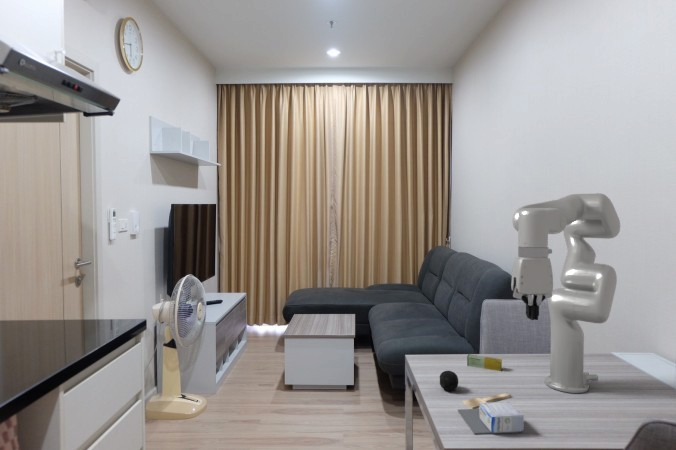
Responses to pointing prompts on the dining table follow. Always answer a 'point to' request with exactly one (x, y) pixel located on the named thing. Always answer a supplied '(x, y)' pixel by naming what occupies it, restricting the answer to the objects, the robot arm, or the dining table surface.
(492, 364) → the medication box
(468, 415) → the mat
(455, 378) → the billiard ball
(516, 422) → the medicine box
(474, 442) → the dining table surface
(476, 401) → the wooden turner
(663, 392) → the dining table surface
